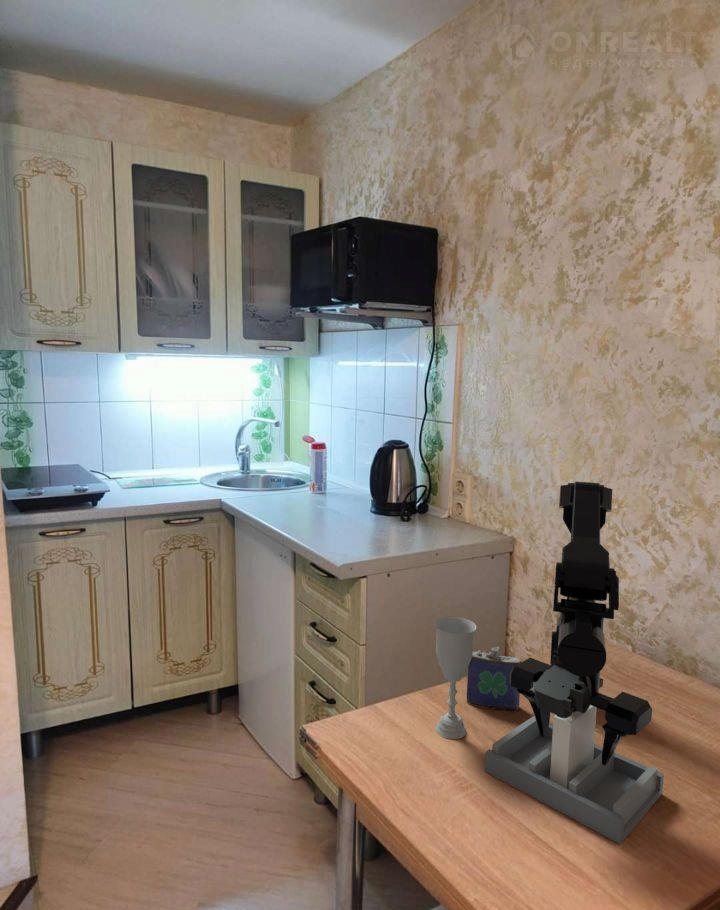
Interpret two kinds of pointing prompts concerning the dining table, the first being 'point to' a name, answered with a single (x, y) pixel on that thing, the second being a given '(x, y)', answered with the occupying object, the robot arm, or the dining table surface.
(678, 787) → the dining table surface
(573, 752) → the white rectangular block
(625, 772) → the rack
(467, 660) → the chalice
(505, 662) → the flask
